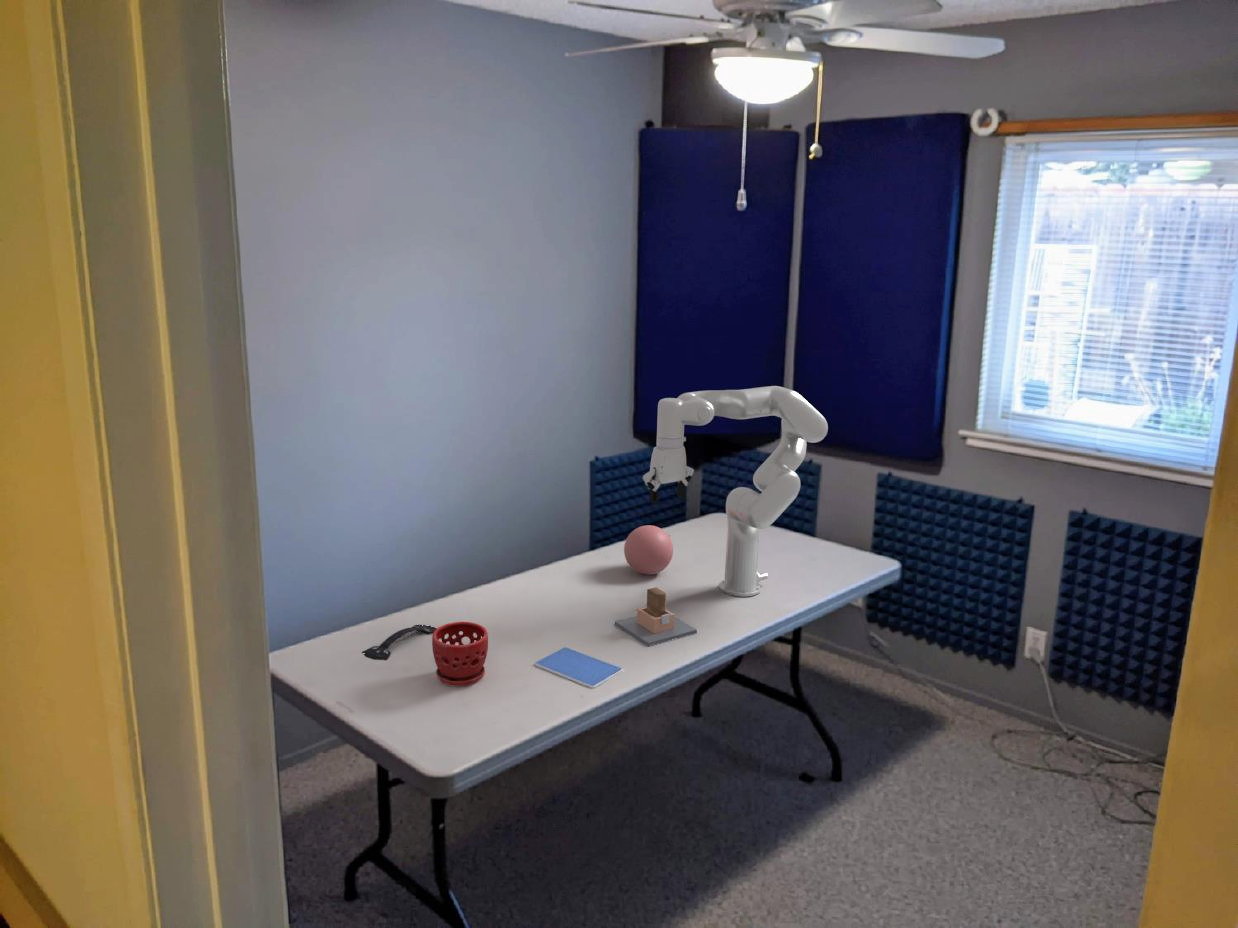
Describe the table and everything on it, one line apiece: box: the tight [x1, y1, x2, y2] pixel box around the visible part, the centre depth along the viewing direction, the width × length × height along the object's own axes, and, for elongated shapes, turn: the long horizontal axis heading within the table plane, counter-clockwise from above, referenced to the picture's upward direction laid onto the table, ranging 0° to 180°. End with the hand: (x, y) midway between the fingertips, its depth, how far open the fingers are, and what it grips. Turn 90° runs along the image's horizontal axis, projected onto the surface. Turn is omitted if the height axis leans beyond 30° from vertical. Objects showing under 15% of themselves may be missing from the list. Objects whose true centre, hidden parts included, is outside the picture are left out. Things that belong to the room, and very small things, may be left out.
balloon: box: [623, 524, 674, 576], centre depth 298 cm, size 15×20×15 cm
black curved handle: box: [361, 624, 438, 661], centre depth 246 cm, size 9×25×3 cm, turn 149°
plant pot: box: [431, 621, 489, 687], centre depth 226 cm, size 13×13×12 cm
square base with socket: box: [614, 606, 698, 647], centre depth 257 cm, size 16×16×6 cm
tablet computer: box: [533, 646, 624, 690], centre depth 234 cm, size 19×13×1 cm, turn 53°
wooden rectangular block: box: [646, 587, 667, 618], centre depth 256 cm, size 3×4×10 cm, turn 32°
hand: (667, 500), depth 270 cm, fingers open, 9 cm apart
